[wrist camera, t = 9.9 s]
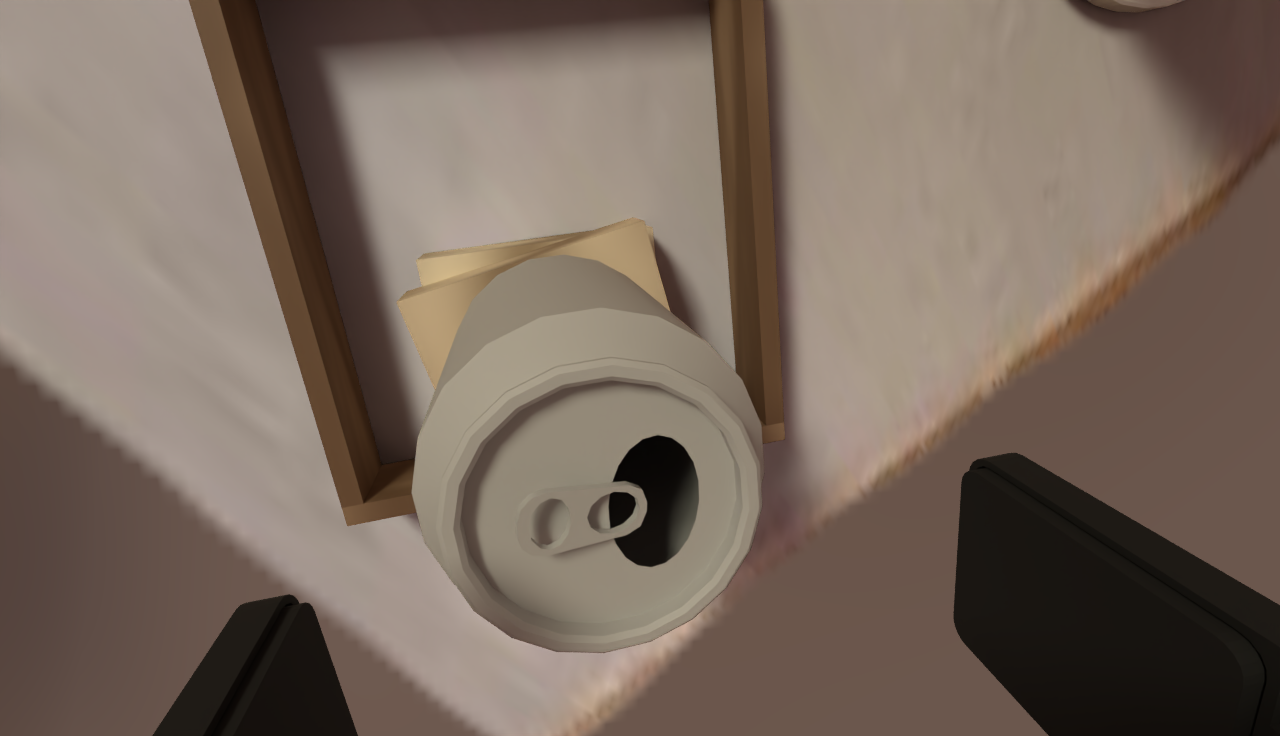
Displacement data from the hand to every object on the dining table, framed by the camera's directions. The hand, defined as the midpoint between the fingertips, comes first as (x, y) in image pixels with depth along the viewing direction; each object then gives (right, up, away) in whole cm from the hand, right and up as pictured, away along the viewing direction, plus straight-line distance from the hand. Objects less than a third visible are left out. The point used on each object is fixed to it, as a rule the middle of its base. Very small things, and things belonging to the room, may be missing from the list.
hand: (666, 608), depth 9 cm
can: (-3, +4, +14) cm, 15 cm away
